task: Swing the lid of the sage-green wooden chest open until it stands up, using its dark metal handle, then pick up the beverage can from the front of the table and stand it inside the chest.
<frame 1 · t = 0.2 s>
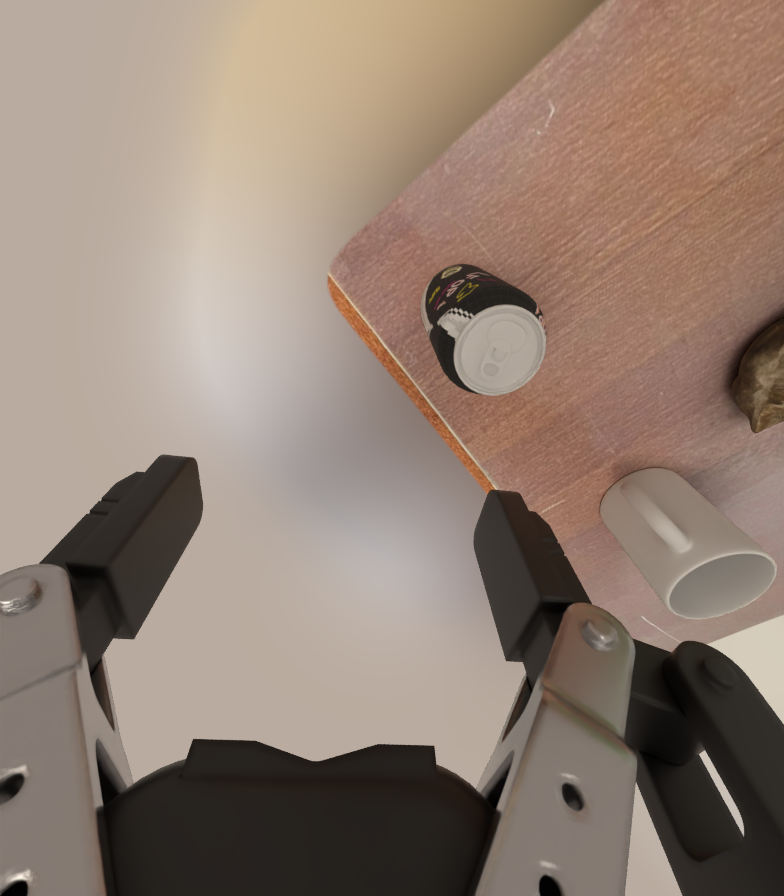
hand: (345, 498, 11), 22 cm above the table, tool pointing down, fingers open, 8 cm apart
fossilized seashell: (761, 362, 32), on the table
mug: (630, 490, 39), on the table
beverage can: (456, 303, 29), on the table
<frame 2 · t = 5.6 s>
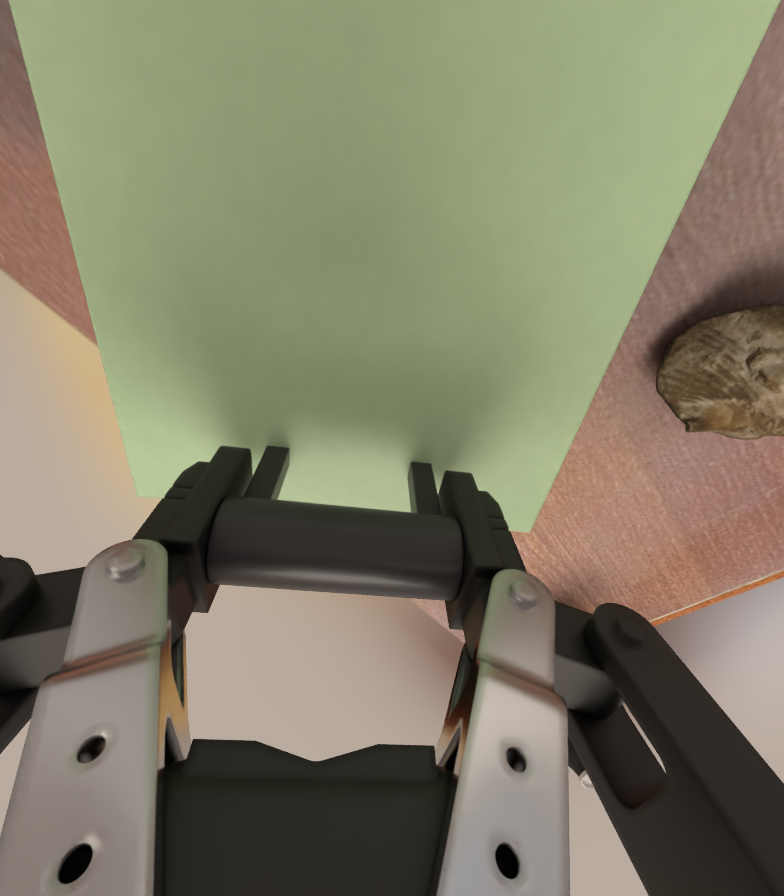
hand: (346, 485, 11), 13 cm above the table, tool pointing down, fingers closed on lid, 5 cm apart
lid: (380, 202, 7), point 14 cm above the table, hinge at -0.1°, touching gripper
fossilized seashell: (724, 358, 23), on the table
beverage can: (548, 621, 37), on the table
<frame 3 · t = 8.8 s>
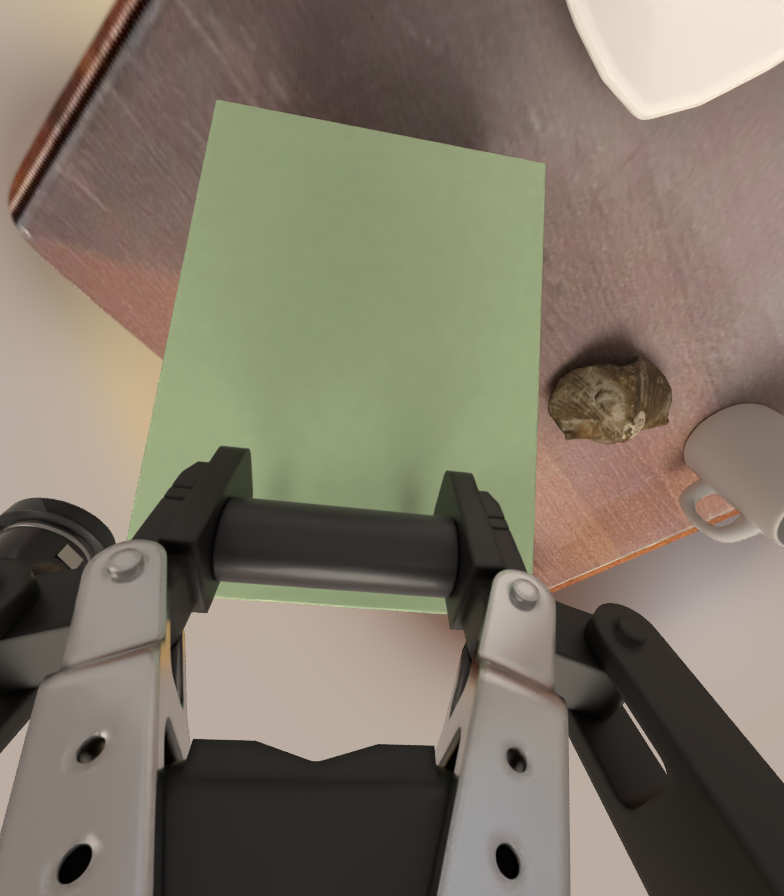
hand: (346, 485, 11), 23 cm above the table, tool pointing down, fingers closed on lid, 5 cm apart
lid: (367, 318, 12), point 19 cm above the table, hinge at 42.5°, touching gripper
fossilized seashell: (598, 390, 35), on the table
mug: (708, 449, 39), on the table
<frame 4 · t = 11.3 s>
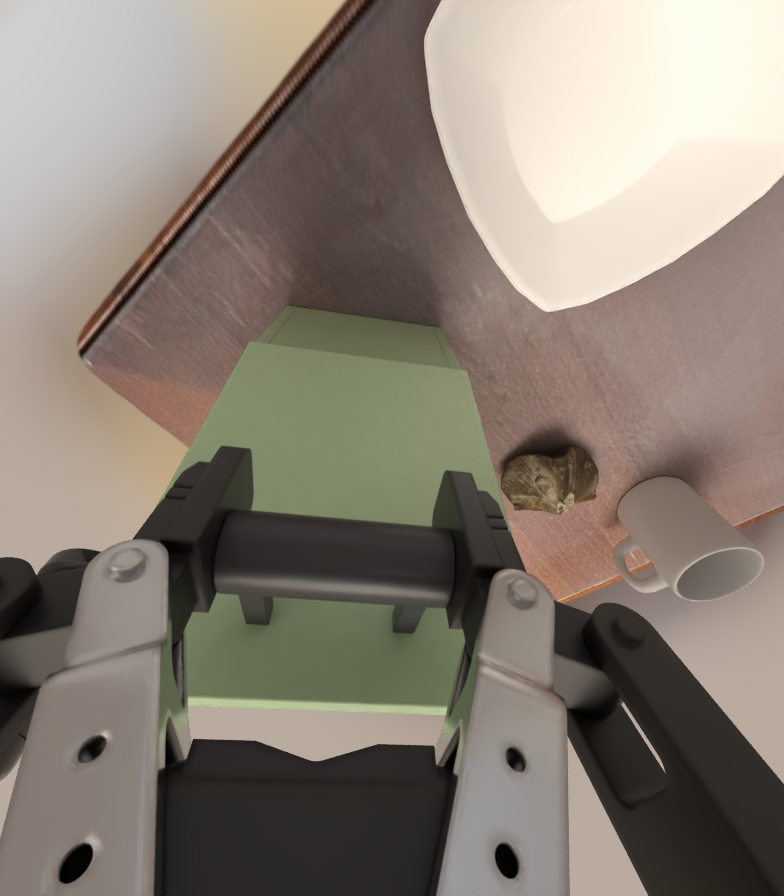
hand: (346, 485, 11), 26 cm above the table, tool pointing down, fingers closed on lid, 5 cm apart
lid: (353, 428, 16), point 21 cm above the table, hinge at 79.5°, touching gripper
fossilized seashell: (542, 467, 44), on the table
mug: (637, 509, 48), on the table
chest: (356, 406, 39), on the table
bowl: (589, 113, 27), on the table
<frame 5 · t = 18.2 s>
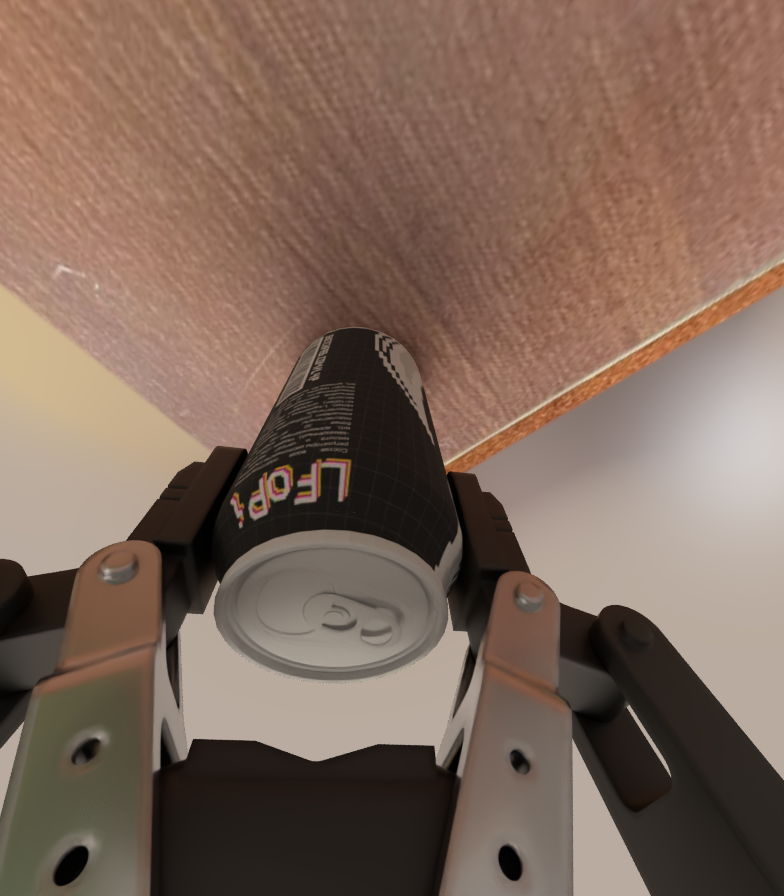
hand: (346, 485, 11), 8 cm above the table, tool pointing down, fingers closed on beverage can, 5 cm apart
beverage can: (358, 383, 18), on the table, touching gripper
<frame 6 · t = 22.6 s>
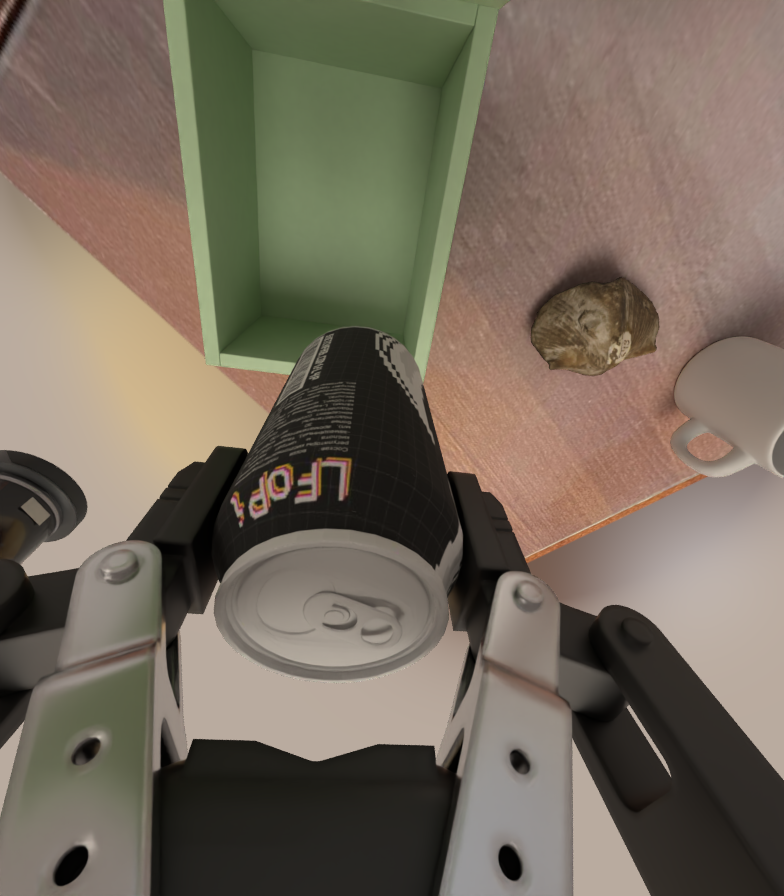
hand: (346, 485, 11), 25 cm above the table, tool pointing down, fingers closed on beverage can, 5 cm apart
fossilized seashell: (583, 321, 34), on the table
mug: (699, 390, 38), on the table
beverage can: (358, 383, 18), point 18 cm above the table, touching gripper
chest: (341, 215, 29), on the table
when the fingers open (8 cm above the table, at t = 27.2 s): beverage can stays where it is, resting on chest.
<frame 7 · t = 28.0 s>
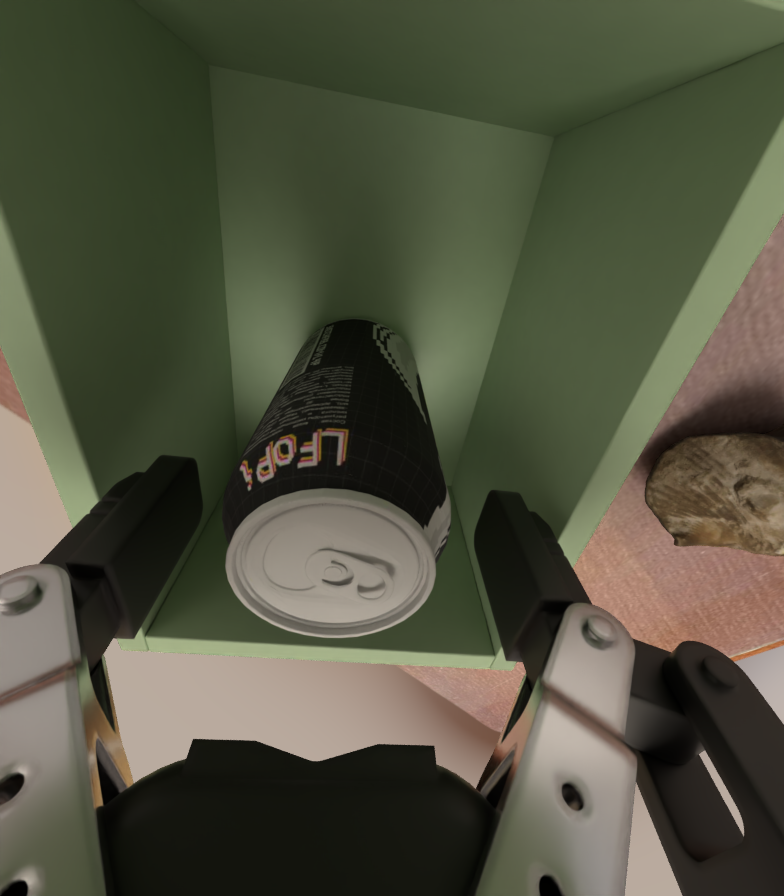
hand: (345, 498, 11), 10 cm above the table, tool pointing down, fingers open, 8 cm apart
fossilized seashell: (714, 462, 23), on the table
beverage can: (357, 373, 18), point 1 cm above the table, touching chest
chest: (364, 328, 18), on the table
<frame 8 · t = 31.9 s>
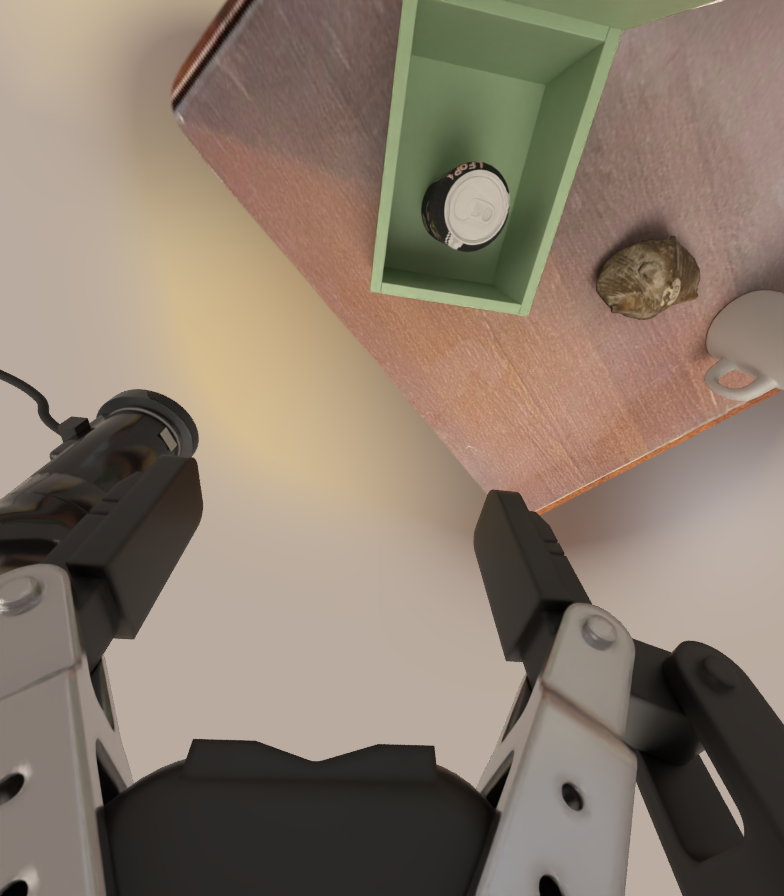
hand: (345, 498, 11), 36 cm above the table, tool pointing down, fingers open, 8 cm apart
fossilized seashell: (636, 276, 42), on the table
mug: (727, 338, 46), on the table
beverage can: (449, 209, 37), point 1 cm above the table, touching chest
chest: (453, 185, 37), on the table
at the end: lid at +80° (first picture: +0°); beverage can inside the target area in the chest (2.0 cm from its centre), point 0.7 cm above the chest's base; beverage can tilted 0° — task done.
